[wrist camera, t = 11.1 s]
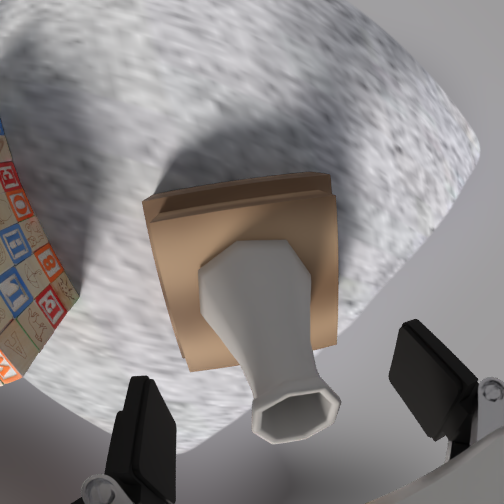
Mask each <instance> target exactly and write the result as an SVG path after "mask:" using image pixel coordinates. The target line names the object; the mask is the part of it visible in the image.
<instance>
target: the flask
mask: <svg viewBox="0 0 504 504" xmlns="http://www.w3.org/2000/svg"><path fill="white" fill-rule="evenodd" d="M198 284H199V299H200V313H201V314H202V316H203V317H204V319H205V320H206V321H207V322H208V324H209V325H210V326H211V327H212V329H213V330H214V331H215V332H216V334H217V335H218V336H219V337H220V339H221V340H222V341H223V343H224V344H225V345H226V347H227V348H228V350H229V351H230V352H231V354H232V355H233V356H234V358H235V359H236V360H237V362H238V363H239V364H240V366H241V368H242V370H243V373H244V375H245V377H246V379H247V381H248V383H249V385H250V387H251V390H252V393H253V397H254V400H253V402H252V425H251V427H252V432H253V433H255V434H256V435H258V436H260V437H261V438H263V439H264V440H266V441H268V442H269V443H271V444H278V443H285V442H292V441H298V440H304V439H307V438H309V437H311V436H312V435H314V434H316V433H318V432H320V431H322V430H323V429H325V428H327V427H328V426H330V425H332V424H334V422H335V419H336V416H337V414H338V411H339V408H340V405H341V400H340V398H339V396H338V395H337V394H336V393H335V392H334V391H333V390H332V389H331V388H330V387H329V386H328V385H327V384H326V383H325V381H324V380H323V379H322V378H321V377H320V376H319V373H318V371H317V369H316V365H315V360H314V355H313V350H312V346H311V341H310V299H311V274H310V273H309V271H308V270H307V268H306V267H305V266H304V264H303V263H302V261H301V260H300V258H299V257H298V256H297V254H296V253H295V251H294V250H293V248H292V247H291V246H290V244H289V243H288V241H287V240H245V241H236V242H235V243H233V244H232V245H231V246H229V247H228V248H226V249H225V250H224V251H222V252H221V253H220V254H218V255H217V256H216V257H214V258H213V259H212V260H211V261H209V262H208V263H207V264H205V265H204V266H203V267H201V268H200V269H199V270H198Z"/></svg>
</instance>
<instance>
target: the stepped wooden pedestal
mask: <svg viewBox="0 0 504 504" xmlns="http://www.w3.org/2000/svg"><path fill="white" fill-rule="evenodd" d="M142 204H143V210H144V215H145V220H146V225H147V229H148V234H149V239H150V243H151V248H152V252H153V256H154V260H155V264H156V268H157V272H158V276H159V280H160V284H161V288H162V292H163V295H164V299H165V302H166V306H167V309H168V313H169V316H170V320H171V323H172V326H173V330H174V333H175V336H176V339H177V342H178V345H179V349H180V352H181V355H182V358H186V361H187V364H188V367H189V370H190V372H194V371H203V370H210V369H218V368H224V367H231V366H237V365H240V364H239V363H238V362H237V360H236V359H235V358H234V356H233V355H232V354H231V352H230V351H229V350H228V348H227V347H226V345H225V344H224V343H223V341H222V340H221V339H220V337H219V336H218V335H217V334H216V332H215V331H214V330H213V329H212V327H211V326H210V325H209V324H208V322H207V321H206V320H205V319H204V317H203V316H202V314H201V313H200V299H199V284H198V270H199V269H200V268H201V267H203V266H204V265H205V264H207V263H208V262H209V261H211V260H212V259H213V258H214V257H216V256H217V255H218V254H220V253H221V252H222V251H224V250H225V249H226V248H228V247H229V246H231V245H232V244H233V243H235V242H236V241H245V240H287V241H288V243H289V244H290V246H291V247H292V248H293V250H294V251H295V253H296V254H297V256H298V257H299V258H300V260H301V261H302V263H303V264H304V266H305V267H306V268H307V270H308V271H309V273H310V274H311V299H310V341H311V346H312V350H317V349H321V348H325V347H329V346H332V345H336V344H337V325H338V230H337V208H336V195H333V194H332V190H331V177H330V174H323V173H317V172H302V173H292V174H283V175H274V176H266V177H258V178H250V179H243V180H235V181H228V182H222V183H215V184H209V185H203V186H197V187H191V188H185V189H179V190H174V191H168V192H163V193H158V194H153V195H152V196H150V197H149V198H147V199H145V200H144V201H142Z"/></svg>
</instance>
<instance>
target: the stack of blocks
mask: <svg viewBox="0 0 504 504" xmlns="http://www.w3.org/2000/svg"><path fill="white" fill-rule="evenodd" d="M78 299H79V295H78V293H77V292H76V290H75V289H74V287H73V285H72V284H71V282H70V280H69V279H68V277H67V275H66V274H65V272H64V269H63V267H62V265H61V264H60V262H59V260H58V258H57V256H56V255H55V253H54V251H53V249H52V247H51V245H50V244H49V242H48V239H47V237H46V235H45V233H44V231H43V229H42V227H41V225H40V223H39V221H38V219H37V217H36V215H34V213H33V210H32V208H31V206H30V204H29V201H28V199H27V197H26V194H25V192H24V189H23V188H22V185H21V183H20V180H19V178H18V175H17V173H16V170H15V167H14V164H13V162H12V156H11V153H10V150H9V147H8V144H7V141H6V137H5V135H4V130H3V127H2V123H1V119H0V386H3V385H4V384H7V383H10V382H13V381H15V380H18V379H20V378H22V377H23V376H24V375H25V373H26V372H27V370H28V368H29V367H30V365H31V364H32V362H33V361H34V359H35V358H36V356H37V354H38V353H40V352H41V350H42V349H43V347H44V345H45V344H46V343H47V341H48V340H49V338H50V337H51V336H52V334H53V333H54V330H55V329H56V328H57V326H58V325H59V324H60V322H61V321H62V319H63V318H64V317H65V315H66V314H67V312H68V311H69V310H70V309H71V308H72V306H73V305H74V304H75V303H76V301H77V300H78Z"/></svg>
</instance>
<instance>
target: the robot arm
mask: <svg viewBox="0 0 504 504" xmlns="http://www.w3.org/2000/svg"><path fill="white" fill-rule="evenodd" d="M389 380H390V382H391V384H392V385H393V387H394V388H395V389H396V391H397V392H398V394H399V395H400V397H401V398H402V399H403V401H404V402H405V404H406V405H407V407H408V408H409V409H410V411H411V412H412V414H413V415H414V417H415V418H416V420H417V421H418V423H419V424H420V425H421V427H422V428H423V430H424V431H425V433H426V434H427V436H428V437H430V438H431V437H432V438H433V440H434V441H437V440H439V439H441V438H442V437H444V436H445V435H446V436H447V438H448V446H447V451H446V457H445V462H444V464H443V465H441V466H440V467H438V468H436V469H435V470H433V471H431V472H430V473H428V474H426V475H424V476H423V477H421V478H419V479H417V480H415V481H413V482H411V483H410V484H407V485H406V486H404V487H401V488H400V489H398V490H395V491H393V492H391V493H389V494H387V495H384V496H382V497H380V498H377V499H375V500H373V501H370V502H368V503H365V504H504V382H503V381H501V380H499V379H498V378H494V377H488V378H486V379H483V380H482V381H481V382H480V384H479V383H478V382H477V381H478V378H477V377H476V376H475V375H474V374H473V373H472V372H471V371H470V370H469V369H468V368H467V367H466V366H465V365H464V364H463V363H462V362H461V361H460V360H459V359H458V358H457V357H456V356H455V355H454V354H453V353H452V352H451V351H450V350H449V349H448V348H447V347H446V346H445V345H444V344H443V343H442V342H441V341H440V340H439V339H438V338H437V337H436V336H435V335H434V334H433V333H431V331H429V329H427V328H426V327H425V326H424V325H423V324H422V323H421V322H420V321H419V320H417V319H414V320H411V321H408V322H405V323H403V324H402V327H401V328H400V329H399V333H398V338H397V342H396V347H395V351H394V355H393V360H392V364H391V368H390V371H389ZM176 431H177V430H176V423H175V421H174V419H173V417H172V415H171V413H170V411H169V409H168V408H167V406H166V404H165V402H164V400H163V398H162V396H161V394H160V392H159V390H158V388H157V385H156V383H155V381H154V380H153V379H149V377H148V376H132V377H131V379H130V383H129V387H128V391H127V395H126V399H125V404H124V408H123V411H119V412H118V413H117V415H116V419H115V423H114V428H113V432H112V437H111V442H110V447H109V452H108V457H107V462H106V468H105V474H104V475H103V474H97V475H93V476H90V477H89V478H88V479H87V480H85V482H84V483H83V485H82V488H81V496H82V497H81V498H79V499H78V500H76V501H75V502H73V503H71V504H174V503H175V501H176V486H175V485H176V482H175V481H176V479H175V478H176Z"/></svg>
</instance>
